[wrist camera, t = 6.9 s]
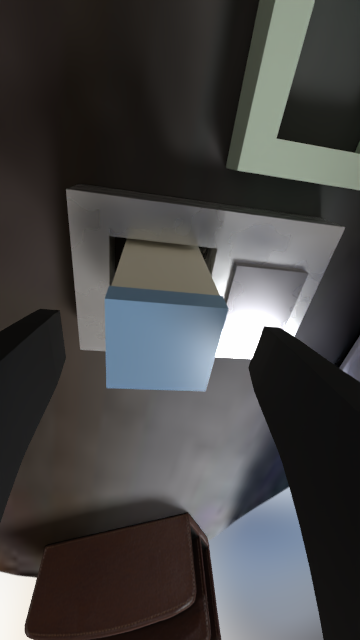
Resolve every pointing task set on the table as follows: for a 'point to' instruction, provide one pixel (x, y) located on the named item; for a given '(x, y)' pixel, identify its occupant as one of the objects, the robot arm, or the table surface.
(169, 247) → the plug
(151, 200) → the panel
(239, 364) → the table surface
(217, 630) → the letter holder
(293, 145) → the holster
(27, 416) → the robot arm
